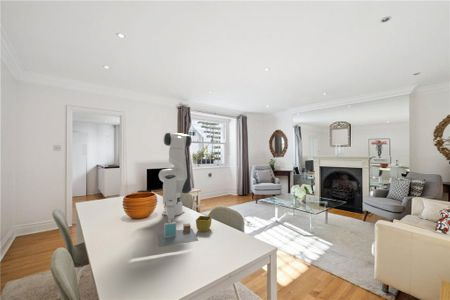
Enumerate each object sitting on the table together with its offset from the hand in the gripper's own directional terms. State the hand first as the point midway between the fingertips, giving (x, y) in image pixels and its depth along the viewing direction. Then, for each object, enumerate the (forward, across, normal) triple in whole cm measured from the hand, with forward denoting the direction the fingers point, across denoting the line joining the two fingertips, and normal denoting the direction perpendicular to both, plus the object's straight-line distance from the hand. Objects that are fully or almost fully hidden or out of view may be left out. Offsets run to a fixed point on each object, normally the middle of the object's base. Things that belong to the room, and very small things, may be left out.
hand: (169, 221), depth 128 cm
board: (+8, +8, +4) cm, 12 cm away
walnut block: (+7, +1, +11) cm, 13 cm away
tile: (+7, +6, 0) cm, 9 cm away
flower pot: (+8, +3, +22) cm, 24 cm away
